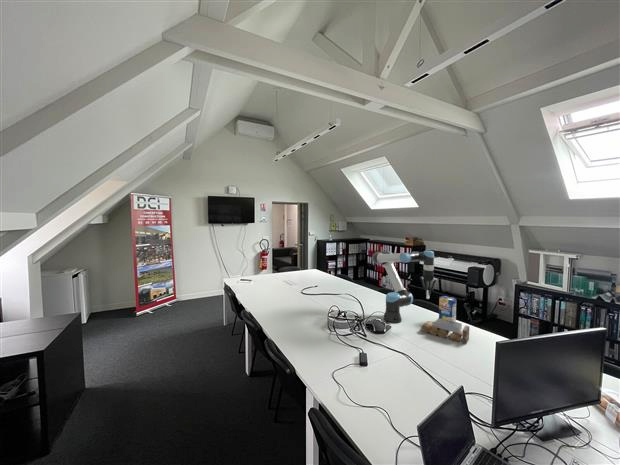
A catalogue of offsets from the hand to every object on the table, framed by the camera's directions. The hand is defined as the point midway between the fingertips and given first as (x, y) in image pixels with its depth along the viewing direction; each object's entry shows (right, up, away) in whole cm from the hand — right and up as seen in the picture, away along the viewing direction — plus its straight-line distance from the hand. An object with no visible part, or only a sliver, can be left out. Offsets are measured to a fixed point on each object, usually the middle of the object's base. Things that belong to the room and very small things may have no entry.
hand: (427, 298), depth 204 cm
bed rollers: (+2, -25, -9) cm, 26 cm away
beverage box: (+21, -24, +9) cm, 33 cm away
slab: (+8, -19, -15) cm, 25 cm away
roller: (+11, -22, -17) cm, 29 cm away
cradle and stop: (+13, -25, -19) cm, 34 cm away
